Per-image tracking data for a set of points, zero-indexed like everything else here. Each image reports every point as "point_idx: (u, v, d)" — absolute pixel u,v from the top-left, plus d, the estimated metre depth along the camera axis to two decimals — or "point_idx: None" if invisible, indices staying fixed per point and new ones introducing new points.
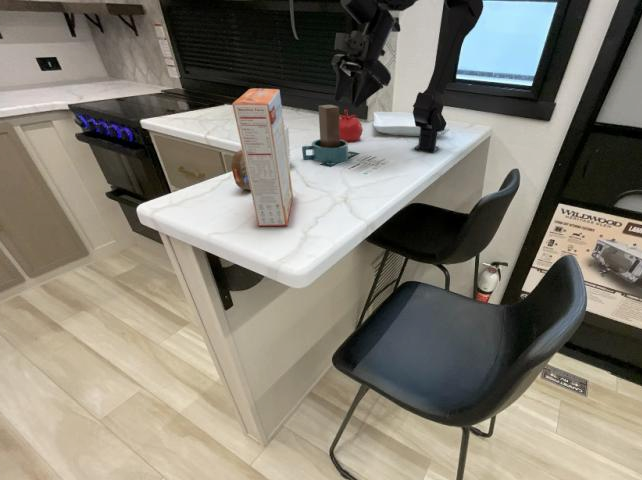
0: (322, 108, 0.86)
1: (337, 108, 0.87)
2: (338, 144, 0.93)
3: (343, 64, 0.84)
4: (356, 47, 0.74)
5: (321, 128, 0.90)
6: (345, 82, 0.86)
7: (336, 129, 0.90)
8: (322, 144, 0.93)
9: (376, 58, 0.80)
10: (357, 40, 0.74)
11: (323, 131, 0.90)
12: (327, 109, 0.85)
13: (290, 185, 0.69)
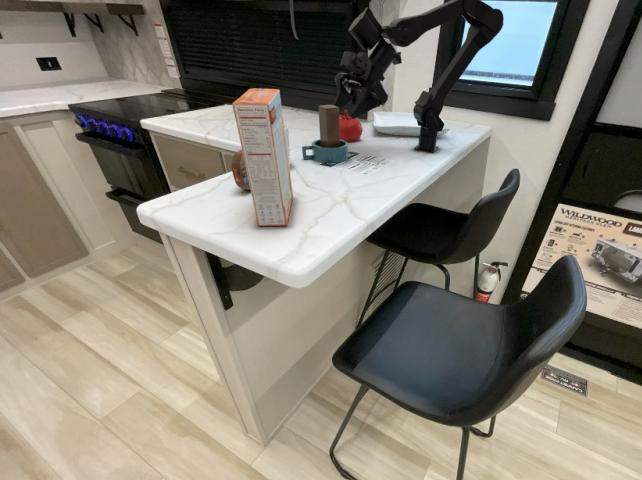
0: (322, 108, 0.86)
1: (337, 108, 0.87)
2: (338, 144, 0.93)
3: (345, 81, 0.92)
4: (361, 66, 0.82)
5: (321, 128, 0.90)
6: (344, 97, 0.94)
7: (336, 129, 0.90)
8: (322, 144, 0.93)
9: None
10: (362, 60, 0.82)
11: (323, 131, 0.90)
12: (327, 109, 0.85)
13: (290, 185, 0.69)
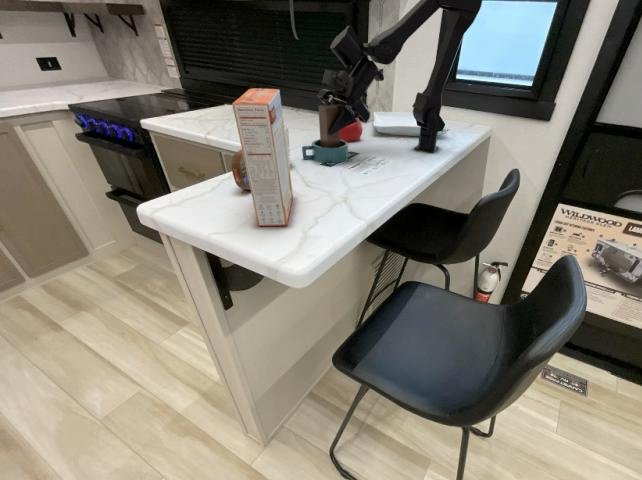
0: (322, 108, 0.86)
1: (337, 108, 0.87)
2: (338, 144, 0.93)
3: None
4: (342, 84, 0.82)
5: (321, 128, 0.90)
6: None
7: None
8: (322, 144, 0.93)
9: (358, 98, 0.88)
10: (343, 79, 0.82)
11: (323, 131, 0.90)
12: (327, 109, 0.85)
13: (290, 185, 0.69)
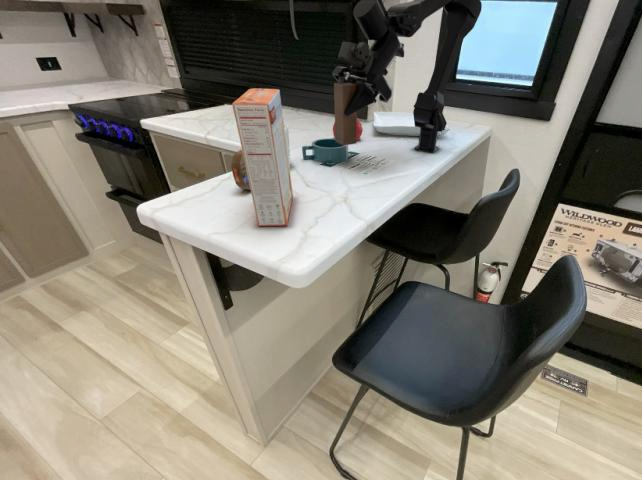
0: (338, 86, 0.78)
1: (355, 86, 0.78)
2: (355, 127, 0.84)
3: None
4: (361, 58, 0.73)
5: (336, 109, 0.81)
6: None
7: None
8: (337, 127, 0.84)
9: None
10: (363, 51, 0.73)
11: (339, 112, 0.81)
12: (344, 87, 0.77)
13: (290, 185, 0.69)
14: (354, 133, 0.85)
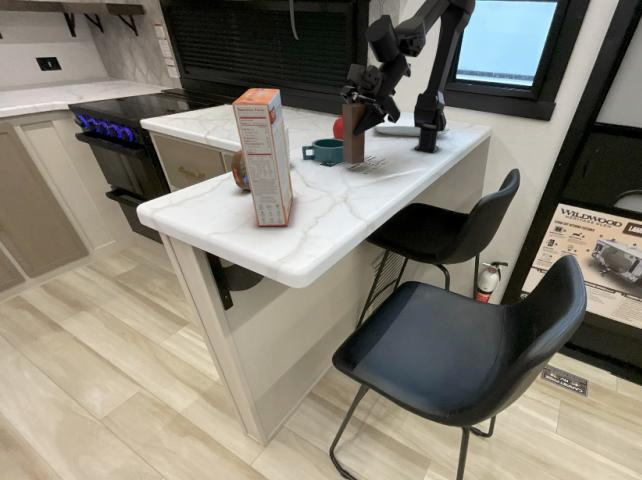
0: (347, 107, 0.78)
1: (363, 107, 0.78)
2: (363, 146, 0.84)
3: None
4: (370, 80, 0.73)
5: (345, 129, 0.82)
6: None
7: None
8: (345, 146, 0.84)
9: (387, 96, 0.80)
10: (372, 74, 0.73)
11: (347, 132, 0.81)
12: (353, 108, 0.77)
13: (290, 185, 0.69)
14: (362, 152, 0.85)
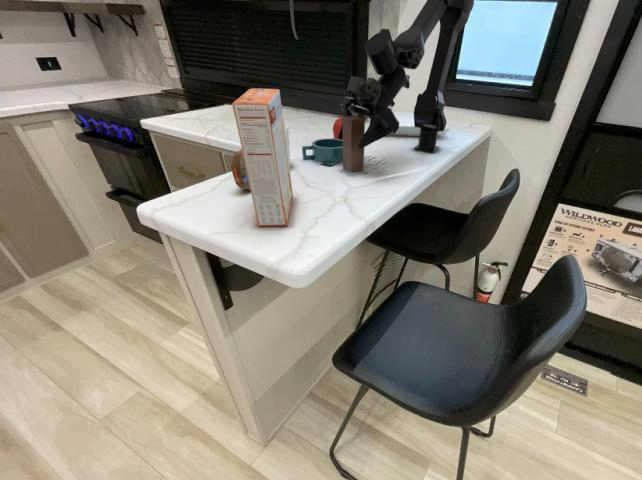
0: (347, 119, 0.80)
1: (363, 119, 0.80)
2: (362, 158, 0.86)
3: (352, 106, 0.84)
4: (370, 92, 0.75)
5: (344, 141, 0.83)
6: None
7: None
8: (345, 157, 0.86)
9: (386, 107, 0.81)
10: (372, 86, 0.74)
11: (347, 144, 0.83)
12: (352, 121, 0.79)
13: (290, 185, 0.69)
14: (361, 163, 0.87)
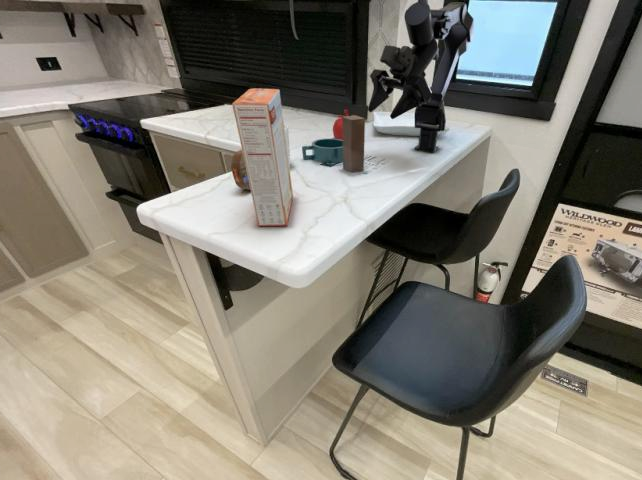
0: (347, 119, 0.80)
1: (363, 119, 0.80)
2: (362, 158, 0.86)
3: (382, 78, 0.85)
4: (404, 61, 0.76)
5: (344, 141, 0.83)
6: (381, 96, 0.87)
7: (361, 142, 0.83)
8: (345, 157, 0.86)
9: None
10: (406, 55, 0.75)
11: (347, 144, 0.83)
12: (352, 121, 0.79)
13: (290, 185, 0.69)
14: (361, 163, 0.87)
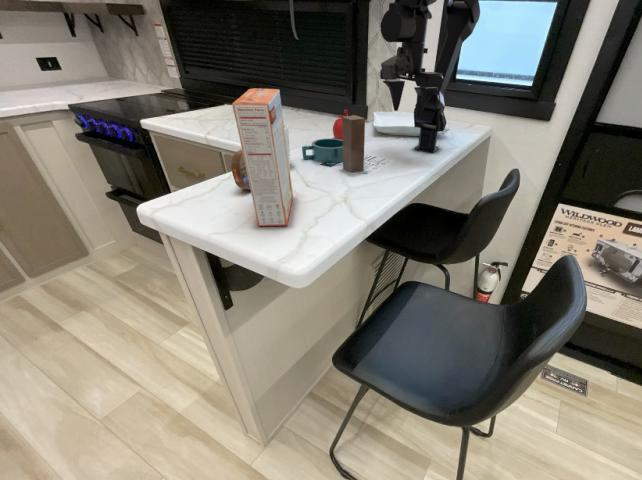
0: (347, 119, 0.80)
1: (363, 119, 0.80)
2: (362, 158, 0.86)
3: None
4: (404, 72, 0.80)
5: (344, 141, 0.83)
6: (398, 89, 0.91)
7: (361, 142, 0.83)
8: (345, 157, 0.86)
9: (422, 61, 0.83)
10: (403, 66, 0.79)
11: (347, 144, 0.83)
12: (352, 121, 0.79)
13: (290, 185, 0.69)
14: (361, 163, 0.87)
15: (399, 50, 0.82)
